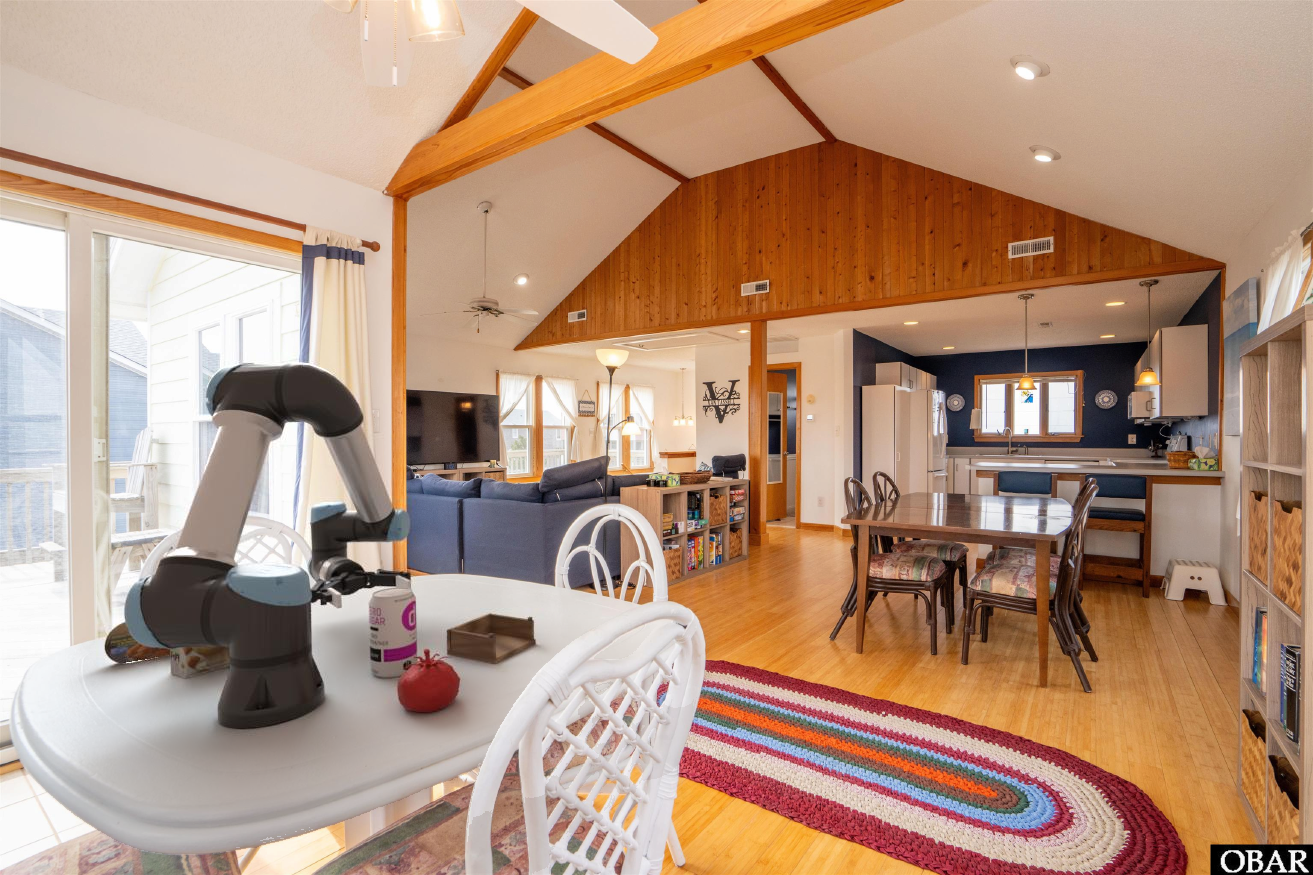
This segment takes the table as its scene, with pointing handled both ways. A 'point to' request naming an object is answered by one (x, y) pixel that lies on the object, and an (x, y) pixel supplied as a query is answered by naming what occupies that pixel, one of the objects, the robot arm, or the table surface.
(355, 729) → the table surface
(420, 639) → the table surface
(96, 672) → the table surface
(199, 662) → the coffee box
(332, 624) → the table surface
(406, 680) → the red tomato
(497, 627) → the tray
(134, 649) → the tin
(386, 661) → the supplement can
